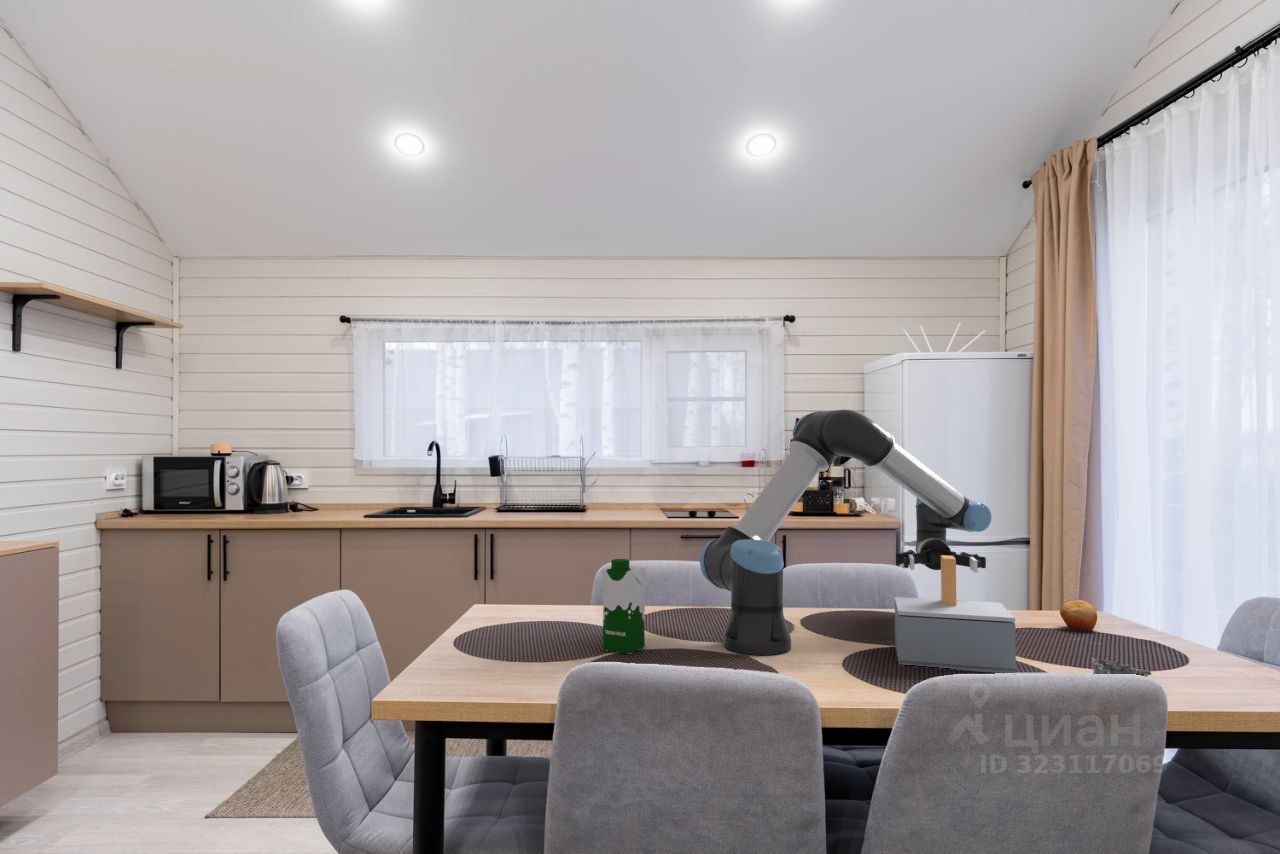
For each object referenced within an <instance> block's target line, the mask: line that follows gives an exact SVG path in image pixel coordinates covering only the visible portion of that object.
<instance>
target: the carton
mask: <svg viewBox="0 0 1280 854" xmlns="http://www.w3.org/2000/svg"><path fill="white" fill-rule="evenodd" d="M894 636H895V637H894V640H895V641H894V642H895V643H894V644H895V645H894V646H895V652H897V653H896V658H897V657H898V658H897V662H898V663H899V664H905V665H920V666H932V667H944V668H951V669H950V670H954V669H956V670H955V671H957V670H958V671H969V672H983V673H991V674H992V673H994V674H995V673H997V674H1005V673H1016V674H1017V655H1016V654H1017V653H1016V650H1017V649H1016V648H1017V647H1016V643H1017V642H1016V640H1017V639H1016V622H1008V621H991V620H975V619H958V618H942V617H926V616H909V615H898V612H897V608H896V603H895V602H894ZM899 664H898V665H899Z"/></svg>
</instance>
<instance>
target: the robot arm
mask: <svg viewBox="0 0 1280 854" xmlns="http://www.w3.org/2000/svg"><path fill="white" fill-rule="evenodd" d="M792 429H793V430H792V439H791V441H790V443H789V446H788V447H789V451H790V452H789V453H788V455H787V457H785V459H784V460H783V462H782V463H781V464H780V466H779V467H778V469H777V470H776V472H775V473H774V474H773V475H772V477H771V478H770V480H769V481H768V482H767V484H766V485H765V487H764V488H763V489H762V491H761V492H760V493H759V494H758V496H757V497H756V498H755V500H754V501H753V502H752V504H751V505H750V507H749V508H748V510H747V511H746V512H745V513H744V515H743V516H742V518H741V519H740V520H739V522H737V524H733V525H728V526H727V528H725V530H724V531H723V533H722V534H721V535H720V537H719V538H714V539H712V540H710V541H709V542H707V543H706V545H704V547H703V548H702V550H701V553H700V557H699V558H700V559H699V565H700V571H701V573H702V575H703V577H704V578H705V579H706V580H707V581H708V582H709V583H711V584H712V585H714V586H715V587H716V588H719V589H723V590H727V591H728V592H730V603H731V604H730V607H731V608H730V613H729V616H728V620H727V624H726V627H725V629H724V633H723V640H722V641H723V643H722V644H723V647H724V648H725V649H727V650H729V651H731V652H735V653H740V654H745V655H746V654H747V655H757V656H771V655H778V654H779V655H780V654H784V653H787V652H790V651H791V649H792V637H791V634H790V631H789V628H788V624H787V622H786V619H785V616H784V615H785V614H784V566H785V565H784V564H785V563H784V557H783V555H784V554H783V551H782V549H781V547H780V546H779V545H778V544H775V543H773V542H770V540H771V539H772V537H773V536H774V535H775V533H776V531H778V529H779V527H780V526H781V525H782V524H783V521H785V519H786V518H787V516H788V515H789V514H790V513H791V511H792V509H793V508H794V506H795V505H796V504H797V502H798V501H799V500H800V498H801V497H802V496H803V494H804V493H805V491H806V490H807V489H808V487H809V486H810V485H811V483H812V482H813V481H814V479H815V477H816V476H817V475H818V473H820V472H826V471H828V470H829V468H831V465H832V464H833V463H834V462H835V460H836V459H837V458H838V457H847V458H850V459H851V458H852V459H856V460H857V461H860V462H861V463H863V464H864V466H867V467H875V468H876V469H878V470H879V471H880V472H882V473H883V474H885V475H886V477H887V476H888V478H890V479H891V480H893V481H894V482H895V483H896V484H898V485H899V486H901V487H902V488H903V489H905V490H906V491H908V492H909V493H910V494H912V495H913V496H914V497H916V501H915V503H916V504H915V514H916V515H915V516H916V536H915V537H916V542H915V550H912V549H908V550H906V551H902V552H898V553H895V564H896V565H898V566H899V565H903V568H904V569H910V570H911V571H913V570H915V565H919V564H920V565H923V566H925V567H926V568H928V569H930V570H932V571H941V555H945V556H953V557H954V558H955V559H956V566H960V567H961V566H962V567H967V568H969V569H970V570H971V571H972V572H973V573H974V574H975V573H978V569H980V568H981V569H987V557H985V556H980V555H979V554H978V553H975V554H971V553H967V552H965V551H961V552H960V553H959V554H958V553H957V552H956V551H953V550H951V547H949V545H948V544H947V529H948V530H949V529H950V530H951V529H952V530H957V531H962V532H963V531H965V532H968V533H973V532H976V533H981V532H983V531H986V530H987V529H989V526H990V525H991V523H992V512H991V509H990V507H989V506H988V505H987V504H986V503H983V502H979V501H976V500H974V501H972V500H970V499H969V498H967V496H965V495H963V494H962V492H960V491H959V490H957V489H956V488H954V487H953V486H952V485H951V484H949V483H948V482H947V481H945V480H944V479H942V478H941V477H940V476H939V475H938V474H936V473H935V472H933V471H932V470H931V469H930V468H928V467H927V466H926V465H925V464H924V463H923V462H920V460H918V459H917V458H916V457H914V456H913V455H912V454H911V453H909V452H908V451H906V450H905V449H904V448H903V447H901V446H900V445H899V444H898V443H897V442H895V437H894V436H893V434H892V433H890V432H889V431H887V429H885V428H884V427H883V426H881V425H880V424H878V423H877V422H876V421H874V420H873V419H871V418H869V417H867V416H866V415H864V414H862V413H860V412H858V411H855V410H851V409H838V410H828V411H826V410H824V411H822V410H819V411H813V412H811V413H808V414H805V415H803V416H802V417H800V419H799V420H798V421H797V422H796V423H795V425H794V427H793V428H792Z"/></svg>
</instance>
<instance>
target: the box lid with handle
mask: <svg viewBox="0 0 1280 854" xmlns="http://www.w3.org/2000/svg"><path fill="white" fill-rule="evenodd" d="M940 586H941V587H940V589H941V590H940V594H941V595H940V597H941V599H940V598H939V599H938V598H924V597H923V598H921V597H902V596H901V597H900V596H895V597H894V604H895V603H896V608H897V612H898V615H909V616H926V617H942V618H958V619H975V620H991V621H1008V622H1014V623H1016V617H1015V616H1014V615H1013V614H1012V613H1011V612H1010V611H1009V610H1008V609H1007V608H1006V606H1005V605H1003V603H1001V602H998V601H997V602H993V601H975V600H974V601H973V600H961V599H960V600H958V599H957V565H956V559H955V558H954V557H953V556H945V555H941V570H940Z"/></svg>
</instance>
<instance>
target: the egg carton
mask: <svg viewBox="0 0 1280 854" xmlns="http://www.w3.org/2000/svg"><path fill="white" fill-rule="evenodd" d="M1091 661H1092V663H1093V667H1092V668H1093V670H1092V671H1093V675H1094V674H1136V675H1141V676H1145V677H1147V678H1148V676H1152V673H1151V670H1149V669H1139V668H1135V667H1131V665H1130V664H1128V663H1127V662H1125V663H1123V664H1120V663H1119V660H1116V661H1112V660H1106V659H1097V658H1095V657H1091Z"/></svg>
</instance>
